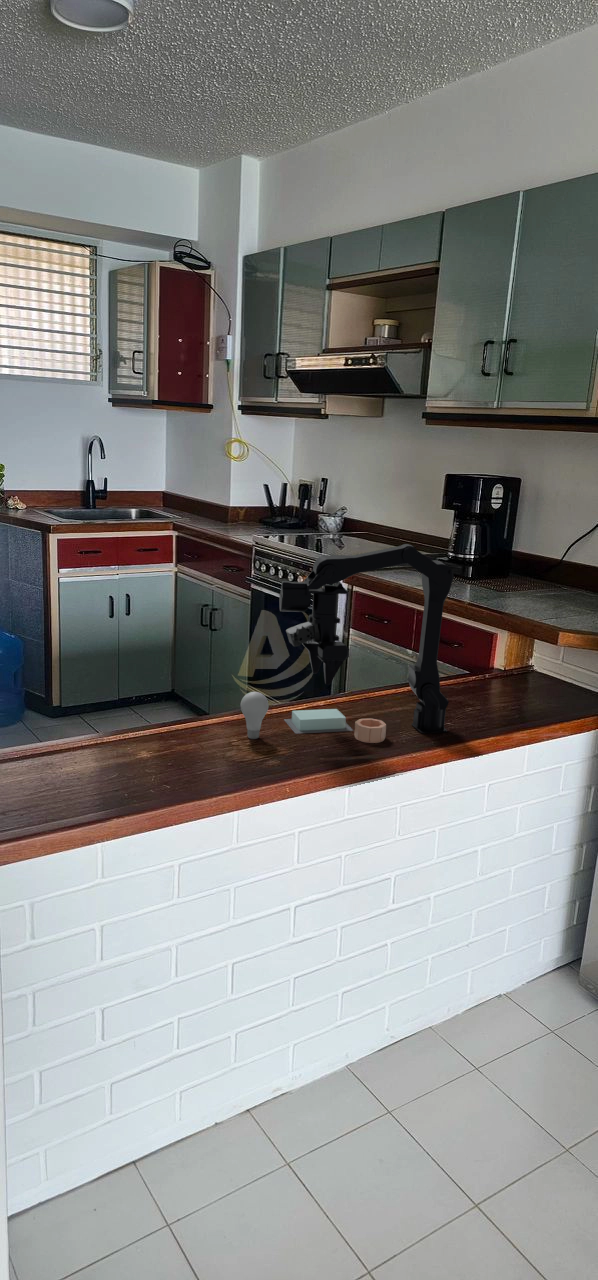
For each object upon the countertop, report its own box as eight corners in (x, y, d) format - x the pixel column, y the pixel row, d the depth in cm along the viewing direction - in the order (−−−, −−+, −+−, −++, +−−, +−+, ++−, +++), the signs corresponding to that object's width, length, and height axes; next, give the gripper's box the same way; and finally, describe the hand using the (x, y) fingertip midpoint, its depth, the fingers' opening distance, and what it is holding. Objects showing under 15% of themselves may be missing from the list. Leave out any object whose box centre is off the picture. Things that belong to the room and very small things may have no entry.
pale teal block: (335, 719, 207) (336, 708, 207) (345, 728, 201) (345, 717, 201) (291, 721, 204) (292, 710, 203) (299, 730, 198) (300, 719, 197)
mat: (339, 718, 209) (339, 716, 209) (353, 733, 200) (353, 730, 200) (283, 721, 205) (283, 719, 205) (295, 736, 196) (295, 733, 196)
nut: (377, 734, 200) (379, 717, 199) (388, 744, 194) (389, 727, 193) (350, 735, 198) (351, 719, 197) (360, 745, 192) (362, 728, 191)
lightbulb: (263, 746, 189) (265, 697, 186) (236, 742, 190) (237, 694, 187) (269, 736, 195) (271, 689, 192) (243, 733, 196) (245, 687, 193)
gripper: (279, 604, 202) (276, 669, 206) (303, 622, 185) (299, 692, 189) (324, 603, 206) (321, 667, 209) (352, 621, 188) (347, 690, 192)
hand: (321, 678), depth 200 cm, fingers open, 9 cm apart
